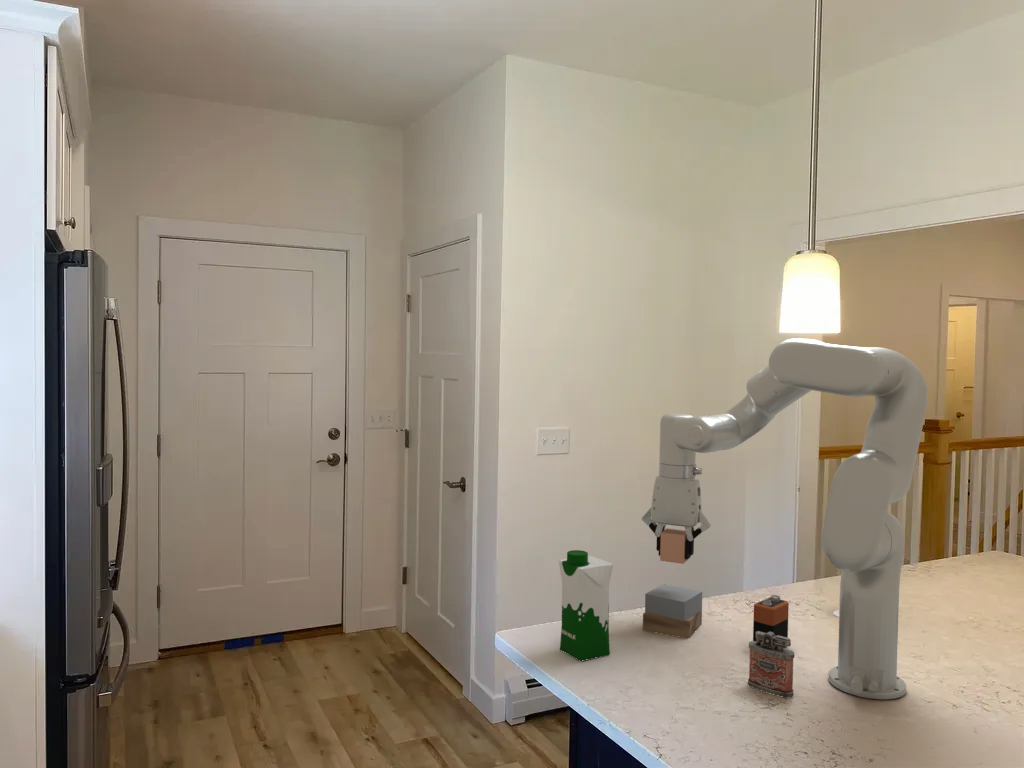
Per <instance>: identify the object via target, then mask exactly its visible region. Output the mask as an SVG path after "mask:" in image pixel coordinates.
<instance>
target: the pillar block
mask: <svg viewBox="0 0 1024 768" xmlns="http://www.w3.org/2000/svg"><path fill="white" fill-rule="evenodd" d="M686 540H687V535H686V531H685V529H677V528H670V527H665V530H664V531H662V532H661V545H660V556H659V561H660V562H667V563H674V564H681V565H682V564H685V563H686V562H687V561H688V560H687V559H685V541H686Z"/></svg>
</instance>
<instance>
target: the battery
mask: <svg viewBox="0 0 1024 768" xmlns="http://www.w3.org/2000/svg"><path fill="white" fill-rule="evenodd" d="M769 596H770V597H767V598H765V599H763V600H760V601H758V602H755V603H753V627H752V629H753V630H752V633H753V634H752V641H756V632H757V631H760V632H764V633H768V632H773V633H774V634H775V636H778V635H779V636H783V637H787V638H789V634H788V633H789V605H790V603H789V601H787V600H783V599H781V595H777V594H770V595H769ZM761 642H762V641H761ZM778 645H779V644H778ZM783 648H786V646H783Z"/></svg>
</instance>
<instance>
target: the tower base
mask: <svg viewBox="0 0 1024 768" xmlns="http://www.w3.org/2000/svg"><path fill="white" fill-rule="evenodd" d="M702 619H703V609H702V610H701V611H700V612H698V613H696V614H695V615H693V616H692V617H690V618H689V619H687V620H686V621H681V620H677V619H672V618H668V617H663V616H659V615H655V614H650V613H646V612H645V611H644V612H643V614H642V631H644V630H645V632H649V631H651V632H650V633H655V632H657V633H656V634H660V633H662V634H661V635H666V634H668V635H667V636H671V635H673V637H677V636H679V637H678V638H683V637H684V639H688V638H689V639H691V638H692V637H693V635H694V634H695V633H696V632H697V630H699V628H700V627H701V625H702V621H703V620H702ZM695 631H696V632H695Z"/></svg>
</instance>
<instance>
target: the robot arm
mask: <svg viewBox="0 0 1024 768" xmlns="http://www.w3.org/2000/svg"><path fill="white" fill-rule="evenodd" d="M811 391H815V392H820V393H821V392H822V393H826V394H833V395H837V396H844V397H851V398H852V397H853V398H854V397H855V398H864V397H874V406H873V409H872V410H871V411H872V412H871V414H870V416H869V418H868V421H867V425H866V430H865V431H866V432H865V435H864V440H863V444H862V448H861V450H860V452H859V453H855V454H853V455H851V456H849V457H847V458H845V459H844V460H843V461H842V462H841V463H840V464H839V466H838V467H837V469H836V471H835V473H834V475H833V477H832V482H831V485H830V490H829V495H828V499H827V504H826V509H825V514H824V518H823V522H822V529H821V536H820V537H821V538H820V539H821V541H820V543H821V548H822V551H823V553H824V555H825V558H826V559H827V561H828V562H829V563H830V564H832V565H833V566H834V567H835V568H837V569H839V570H841V574H840V584H839V585H840V586H839V587H840V588H839V609H838V610H839V617H838V647H837V648H838V653H837V657H838V658H837V666H834V667H832V668H831V669H829V671H828V678H827V679H828V681H829V683H831V684H832V686H834V688H836V689H838V690H840V691H842V692H845V693H847V694H850V695H852V696H856V697H861V698H865V699H873V700H894V699H898V698H899V699H900V698H901V697H902V696H904V695H905V694H906V693H907V684H906V682H905V681H904V680H903V679H902V678H901V677H900V676H898V675H897V674H898V673H897V672H898V640H899V639H898V638H899V637H898V635H899V609H900V608H899V605H900V604H899V603H900V584H901V572H902V566H903V559H904V553H905V552H904V551H905V542H906V541H905V532H904V529H903V526H902V524H901V522H900V521H899V520H898V519H897V517H896V516H895V515H894V514H892V513H891V512H889V511H888V510H889V506H890V505H891V504H895V503H896V502H897V503H898V502H899V501H902V499H903V498H904V497H906V495H908V492H909V491H910V489H911V485H912V481H913V476H914V470H915V466H916V462H917V456H918V452H919V448H920V447H919V446H920V442H921V437H922V436H921V435H922V430H923V427H924V422H925V418H926V413H927V408H928V407H927V406H928V397H929V395H928V388H927V383H926V381H925V377H924V375H923V374H922V372H921V371H920V369H919V368H918V367H917V365H916V364H915V363H914V362H913V361H912V360H910V358H908V357H906V356H905V355H904V354H902V353H900V352H899V351H896V350H893V349H889V348H885V347H878V346H876V347H875V346H870V347H869V346H851V345H841V344H832V343H826V342H824V341H821V340H819V339H814V338H799V337H798V338H796V337H795V338H788V339H786V340H784V341H783V340H782V342H780V343H779V344H777V345H776V346H775V347H774V348H773V350H772V351H771V353H770V356H769V358H768V365H767V366H765V367H763V368H762V369H761V370H760V371H758V372H757V373H755V374H754V375H752V376H751V377H750V378H749V379H748V380H747V382H746V392H747V394H746V395H745V396H744V398H742V399H741V400H740V401H739V402H738V403H736V404H735V405H734V406H732V407H731V408H729V409H728V410H726V411H725V412H723V413H720V414H719V413H718V414H711V415H710V414H709V415H698V416H693V415H692V414H688V413H673V412H672V413H665V414H663V415H662V416H661V418H660V422H659V423H660V425H659V427H660V428H659V465H658V475H657V476H656V477H655V480H654V484H653V490H652V497H651V507H650V508H649V509H648V510H647V511H646V512H645V513H644V515H643V516H642V517H641V521H642V522H643V524H645V525H646V526H648V527H649V529H650V530H651V532H653V534H654V536H655V537H656V546H655V547H656V548H655V549H656V552H658V556H659V557H660V545H661V532H662V531H664V530H665V529H666V528H667V526H668V525H670V526H677V527H684V530H685V531H686V535H687V540H686V541H685V559H687V561H688V560H689V559H690V558H691V557H692V556H693V555H694V550H695V539H696V538H698V536H700V535H701V534H702V533H704V532H705V531H706V530H708V529H709V528H711V527H712V526H711V523H710V521H709V520H708V519H707V517H706V516H705V515H704V513H703V511H702V509H703V508H702V505H703V503H702V493H701V491H702V490H701V484H700V479H699V478H698V477H697V478H696V476H699V475H702V473H703V468H701V467H699V466H697V464H696V453H700V454H707V453H708V454H709V453H715V452H718V451H728V450H730V449H731V450H732V449H734V448H735V447H738V446H739V445H741V444H742V443H744V442H746V441H747V440H749V439H751V438H752V437H753V436H755V435H757V434H758V433H759V432H761V431H762V430H763V429H765V427H766V426H767V425H769V424H770V422H771V421H772V420H774V418H775V416H777V415H778V414H779V413H780V412H781V411H783V410H784V409H786V408H787V407H789V406H791V405H792V404H794V403H795V402H796V401H798V400H799V399H801V398H803V397H804V396H806V394H808V393H810V392H811ZM697 524H700V526H698V527H697V528H696V529H695V527H696V526H697Z"/></svg>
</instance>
